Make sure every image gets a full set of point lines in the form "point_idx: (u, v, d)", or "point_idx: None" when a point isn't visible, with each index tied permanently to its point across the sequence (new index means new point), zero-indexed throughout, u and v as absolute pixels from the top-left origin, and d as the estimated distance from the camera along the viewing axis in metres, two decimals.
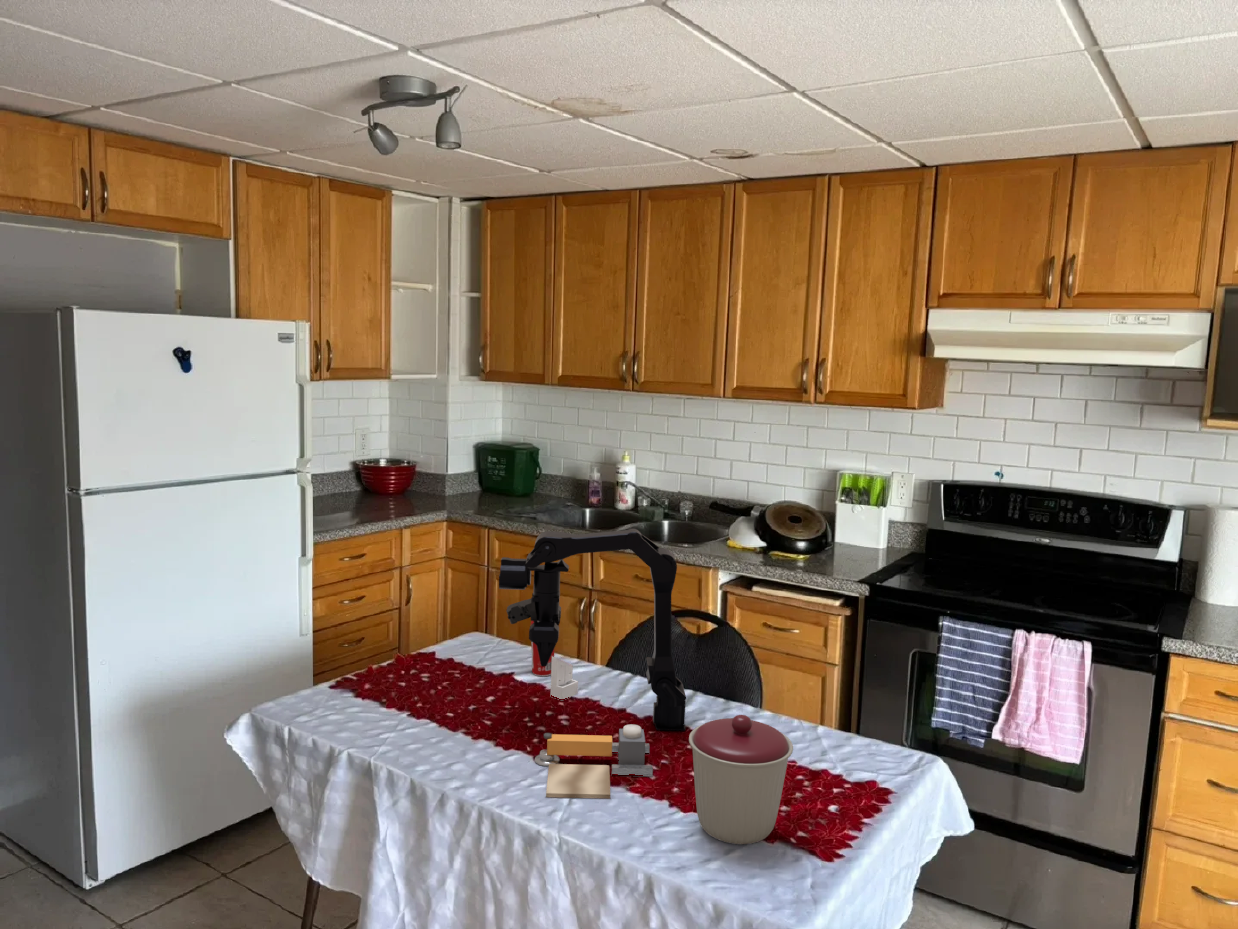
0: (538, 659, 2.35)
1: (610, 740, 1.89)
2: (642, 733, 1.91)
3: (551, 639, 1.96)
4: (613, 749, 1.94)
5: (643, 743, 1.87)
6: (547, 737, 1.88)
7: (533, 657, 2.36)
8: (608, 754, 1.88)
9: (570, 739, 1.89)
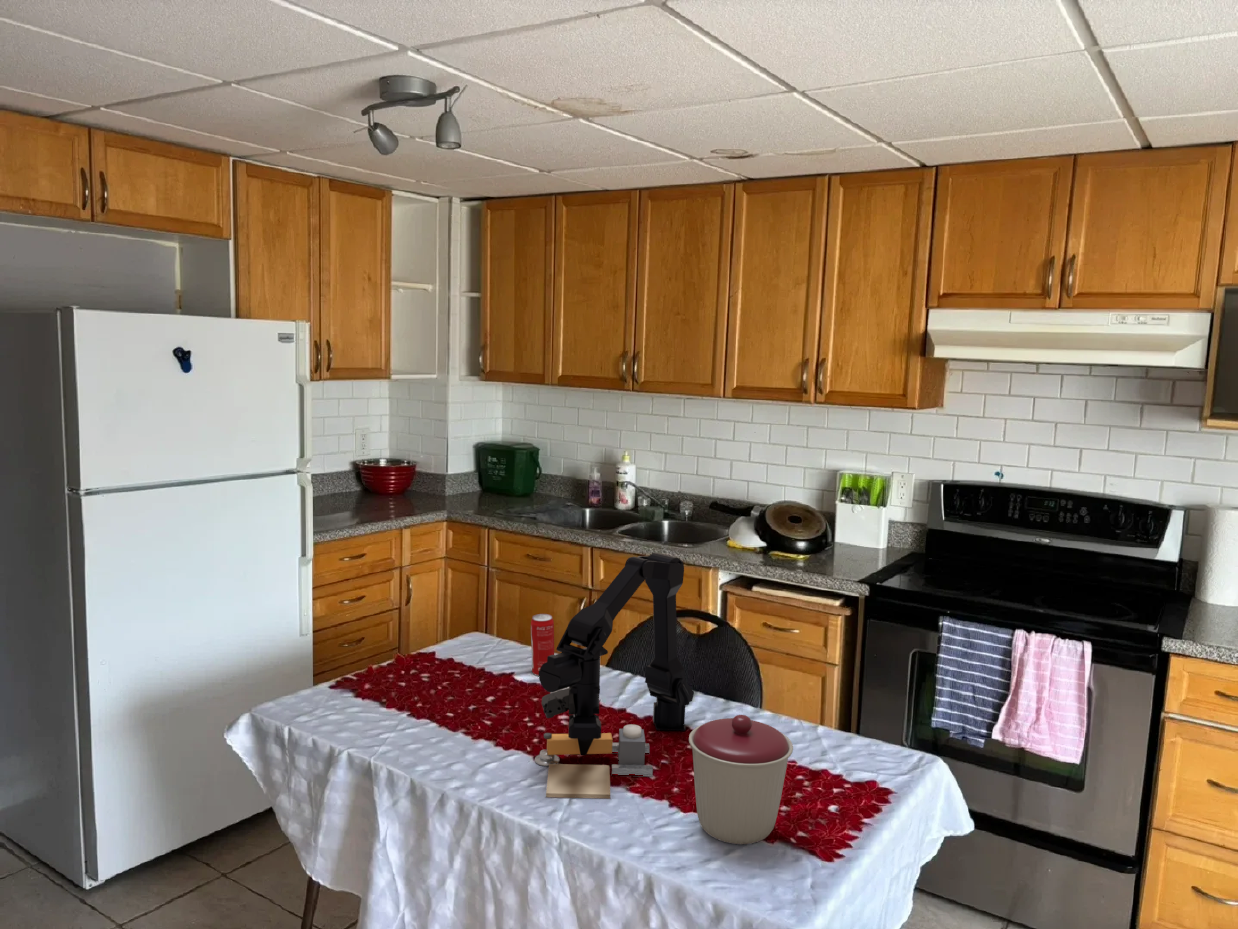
0: (538, 659, 2.35)
1: (610, 737, 1.90)
2: (642, 733, 1.91)
3: (593, 737, 1.77)
4: (613, 749, 1.94)
5: (643, 743, 1.87)
6: (547, 737, 1.88)
7: (533, 657, 2.36)
8: (609, 751, 1.90)
9: (571, 738, 1.89)
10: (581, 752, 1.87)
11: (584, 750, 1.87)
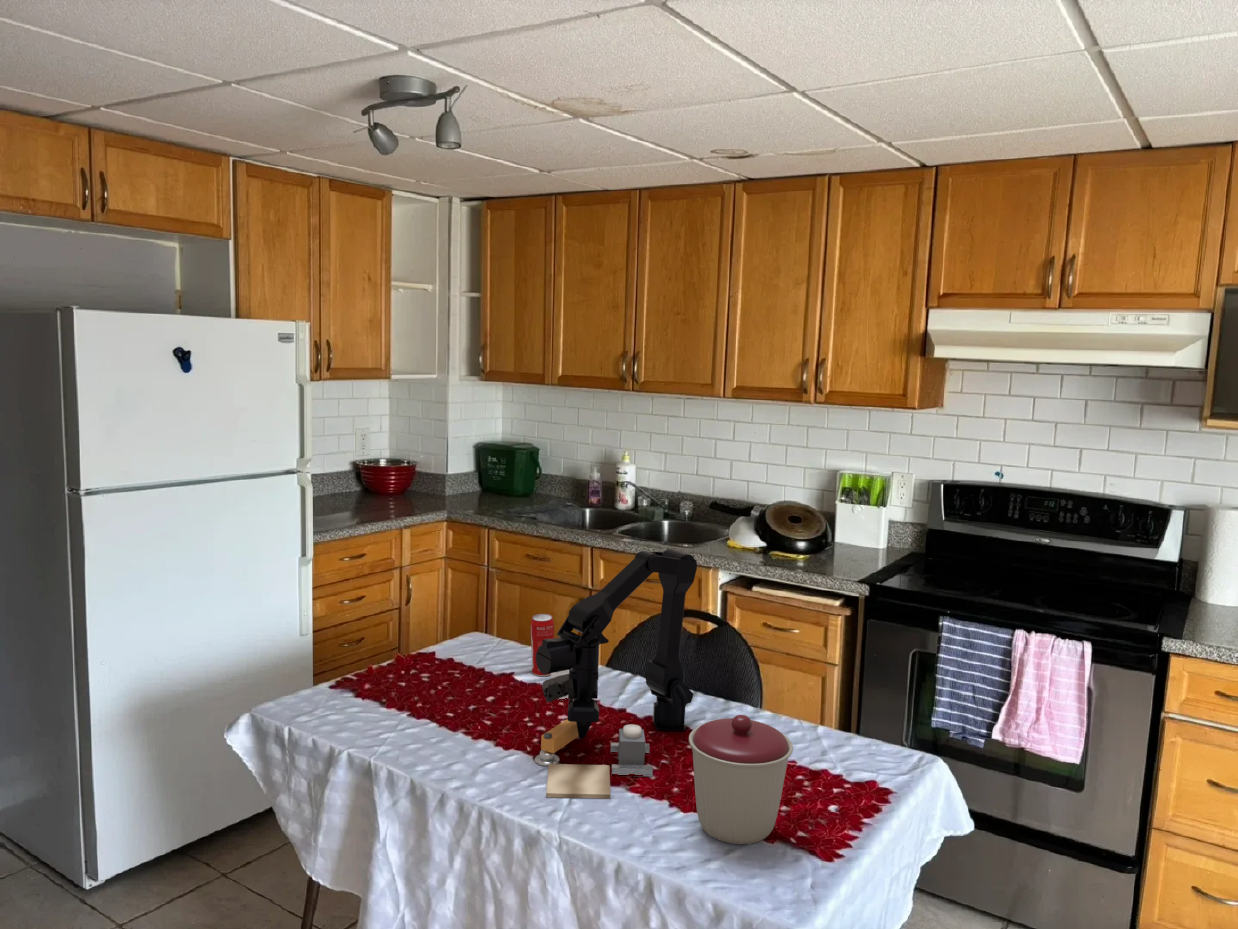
0: None
1: None
2: (642, 733, 1.91)
3: (591, 720, 1.85)
4: (613, 749, 1.94)
5: (643, 743, 1.87)
6: (550, 736, 1.89)
7: (533, 657, 2.36)
8: None
9: (562, 730, 1.93)
10: (580, 735, 1.94)
11: (582, 733, 1.94)
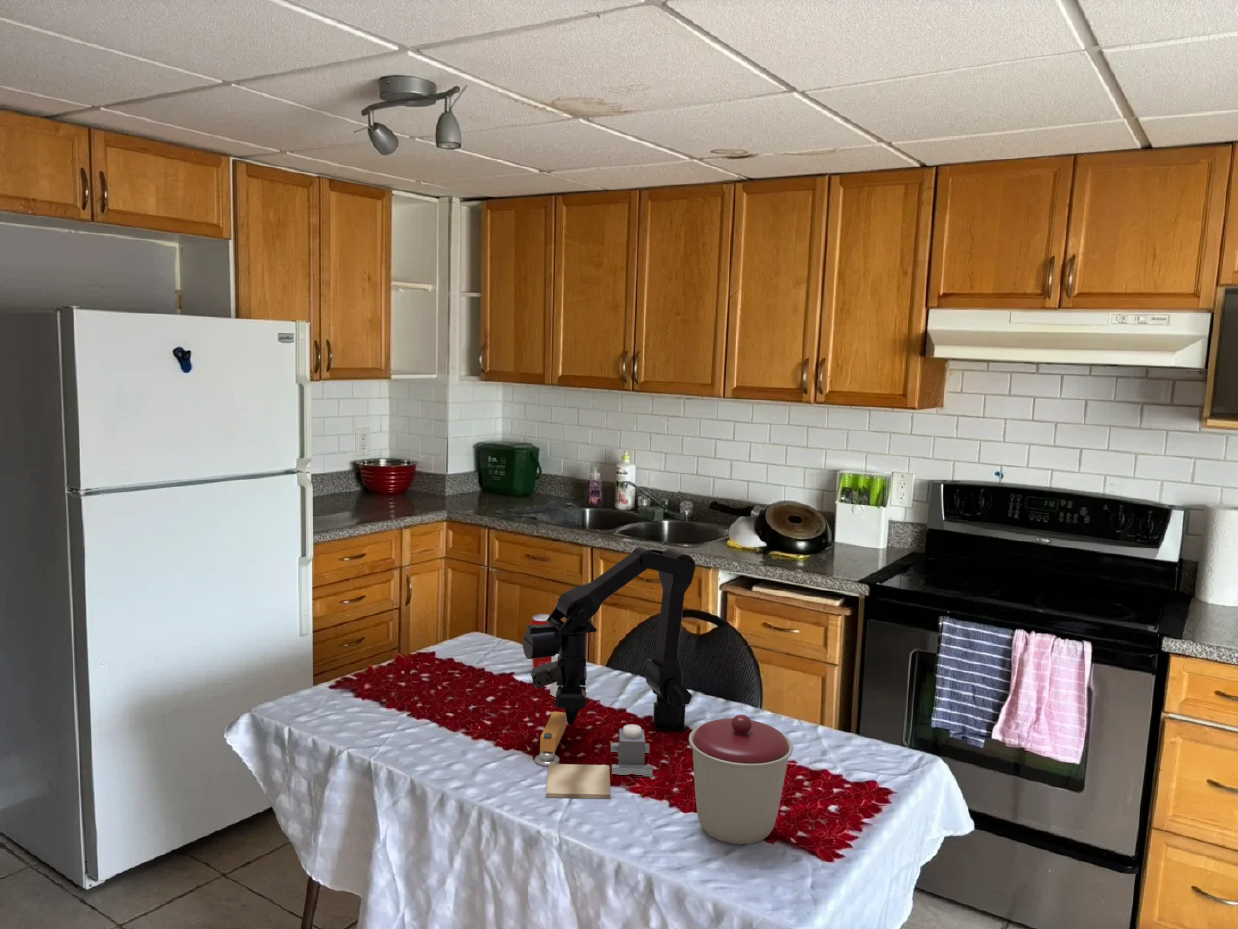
0: (538, 659, 2.35)
1: (563, 713, 2.01)
2: (642, 733, 1.91)
3: (578, 707, 1.88)
4: (613, 749, 1.94)
5: (643, 743, 1.87)
6: (551, 736, 1.89)
7: None
8: (565, 725, 2.01)
9: (555, 728, 1.94)
10: (568, 721, 1.98)
11: (571, 720, 1.97)
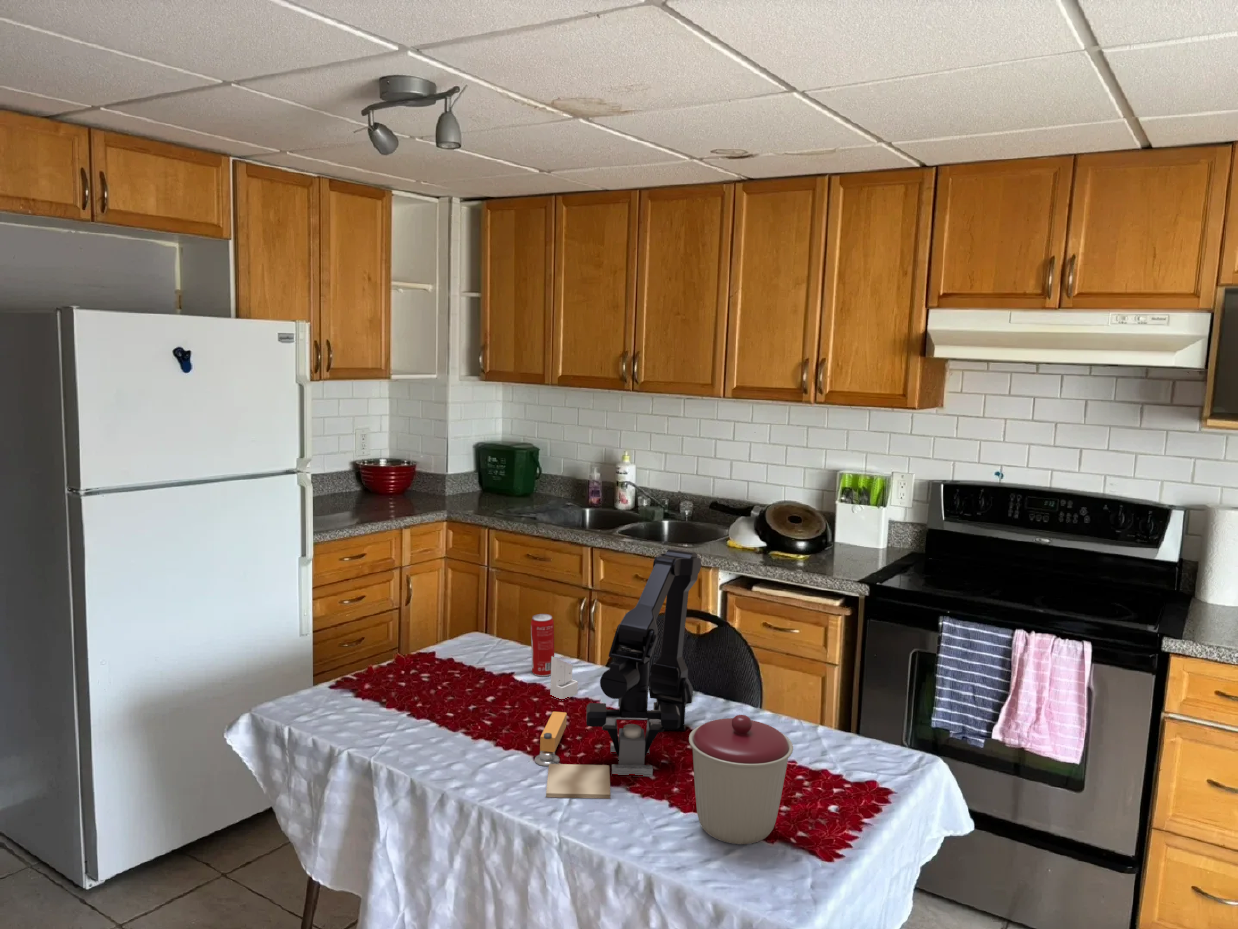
0: (538, 659, 2.35)
1: (563, 713, 2.01)
2: (642, 733, 1.91)
3: (586, 722, 1.87)
4: (613, 749, 1.94)
5: (643, 743, 1.87)
6: (551, 736, 1.89)
7: (533, 657, 2.36)
8: (565, 725, 2.01)
9: (555, 728, 1.94)
10: None
11: None
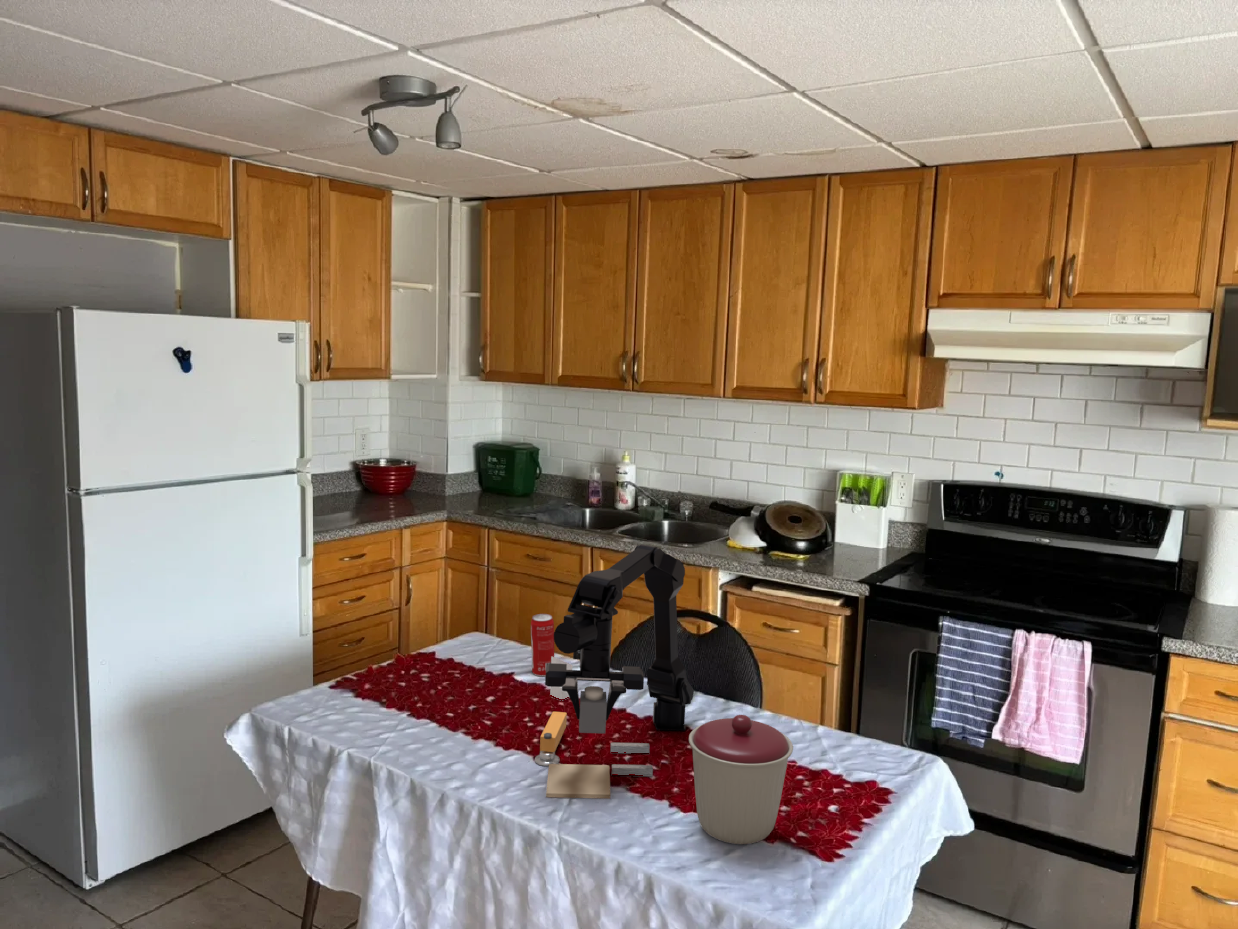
0: (538, 659, 2.35)
1: (563, 713, 2.01)
2: (604, 695, 1.82)
3: None
4: (613, 749, 1.94)
5: (605, 704, 1.78)
6: (551, 736, 1.89)
7: (533, 657, 2.36)
8: (565, 725, 2.01)
9: (555, 728, 1.94)
10: None
11: None
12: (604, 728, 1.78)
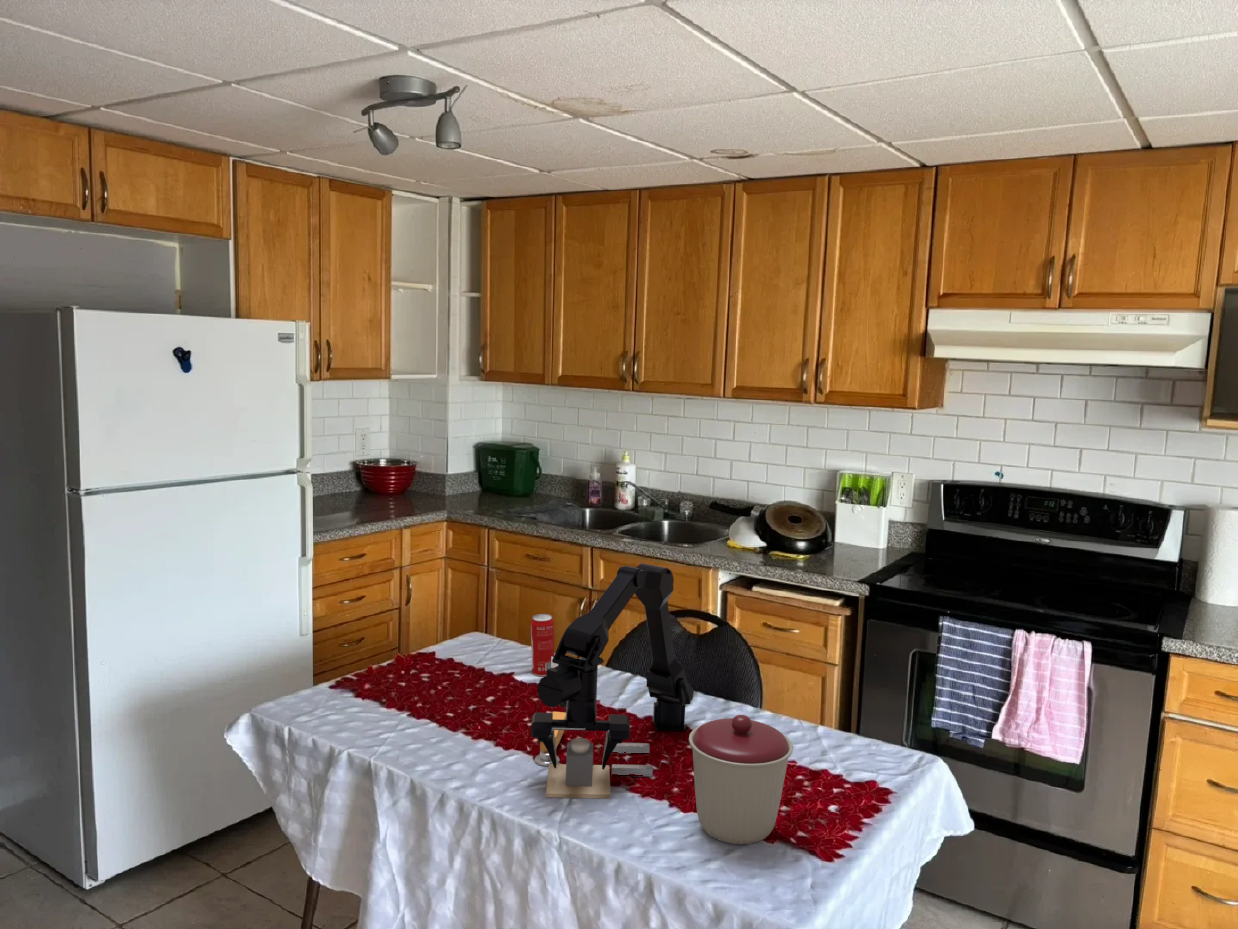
0: (538, 659, 2.35)
1: (563, 713, 2.01)
2: (591, 747, 1.81)
3: None
4: None
5: (591, 758, 1.77)
6: None
7: (533, 657, 2.36)
8: None
9: None
10: None
11: None
12: (591, 781, 1.78)
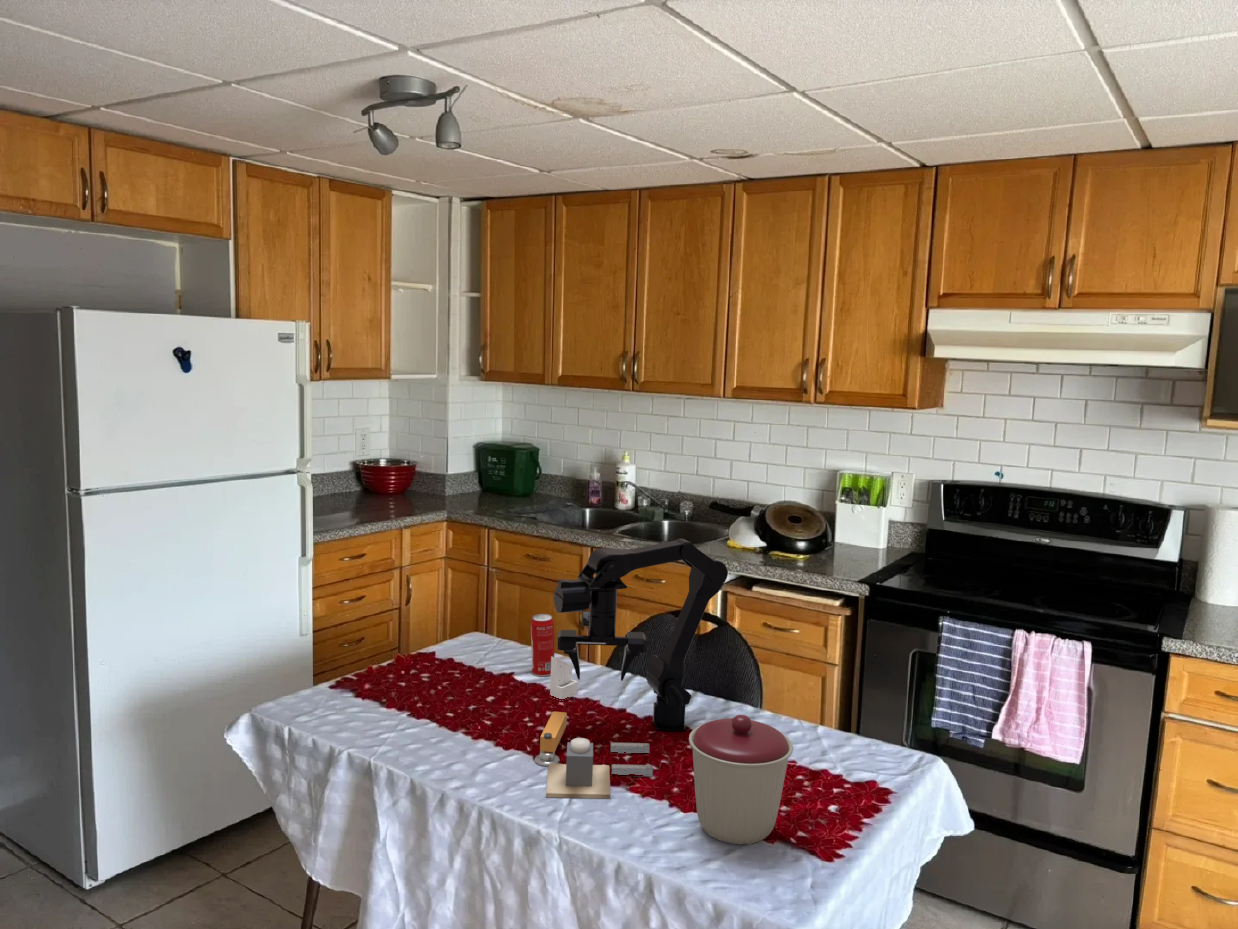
0: (538, 659, 2.35)
1: (563, 713, 2.01)
2: (591, 747, 1.81)
3: None
4: (613, 749, 1.94)
5: (591, 758, 1.77)
6: (551, 736, 1.89)
7: (533, 657, 2.36)
8: (565, 725, 2.01)
9: (555, 728, 1.94)
10: None
11: None
12: (591, 781, 1.78)
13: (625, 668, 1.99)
